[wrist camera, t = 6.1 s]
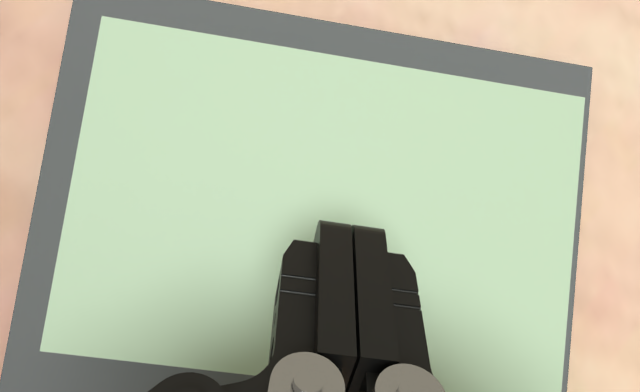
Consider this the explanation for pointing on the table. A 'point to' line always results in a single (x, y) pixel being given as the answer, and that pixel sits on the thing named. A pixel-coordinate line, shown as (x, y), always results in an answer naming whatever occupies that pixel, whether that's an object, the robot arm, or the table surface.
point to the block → (310, 203)
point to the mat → (241, 23)
